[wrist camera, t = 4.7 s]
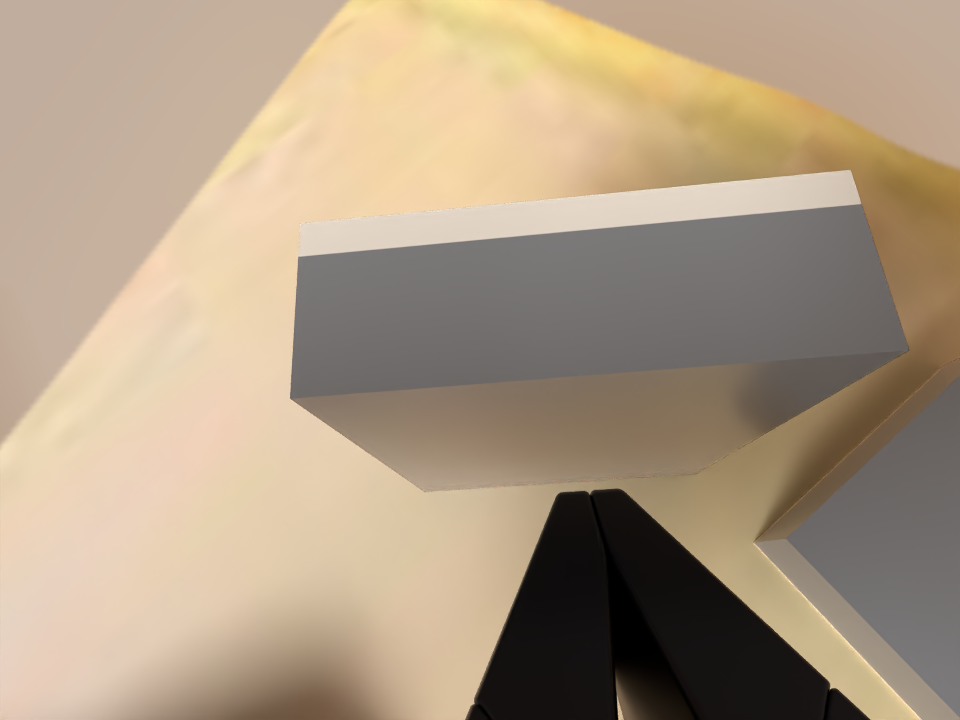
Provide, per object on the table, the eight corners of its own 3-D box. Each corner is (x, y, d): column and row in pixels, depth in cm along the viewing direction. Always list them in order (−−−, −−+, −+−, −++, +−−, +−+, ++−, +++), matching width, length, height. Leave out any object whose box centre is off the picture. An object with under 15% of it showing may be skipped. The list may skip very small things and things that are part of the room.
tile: (695, 473, 15) (908, 350, 6) (424, 491, 15) (290, 398, 7) (680, 383, 16) (850, 169, 7) (422, 403, 16) (299, 223, 8)
